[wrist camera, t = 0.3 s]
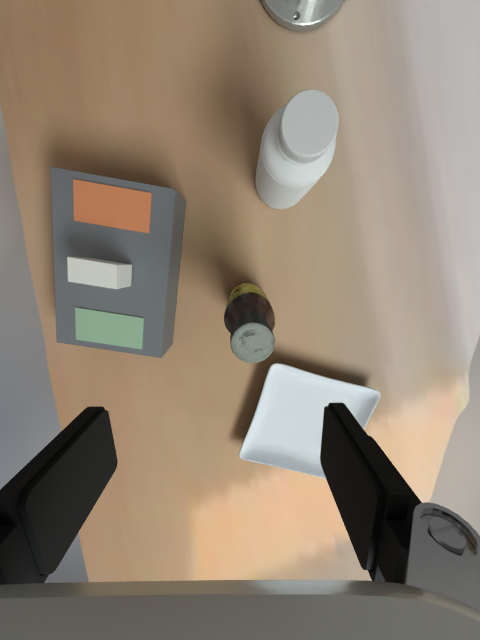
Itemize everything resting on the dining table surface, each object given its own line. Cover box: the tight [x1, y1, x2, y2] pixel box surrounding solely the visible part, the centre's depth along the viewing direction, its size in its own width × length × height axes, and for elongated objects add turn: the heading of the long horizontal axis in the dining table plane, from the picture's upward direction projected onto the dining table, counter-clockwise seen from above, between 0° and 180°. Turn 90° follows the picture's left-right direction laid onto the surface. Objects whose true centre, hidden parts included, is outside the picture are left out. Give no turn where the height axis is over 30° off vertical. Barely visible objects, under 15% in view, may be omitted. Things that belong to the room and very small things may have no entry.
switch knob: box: [67, 257, 132, 289], centre depth 30 cm, size 3×6×4 cm, turn 81°
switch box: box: [50, 167, 186, 358], centre depth 35 cm, size 24×16×6 cm, turn 171°
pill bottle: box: [255, 89, 339, 209], centre depth 28 cm, size 8×8×15 cm
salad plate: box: [239, 363, 381, 479], centre depth 44 cm, size 21×21×3 cm
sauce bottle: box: [224, 283, 275, 363], centre depth 30 cm, size 7×6×20 cm
